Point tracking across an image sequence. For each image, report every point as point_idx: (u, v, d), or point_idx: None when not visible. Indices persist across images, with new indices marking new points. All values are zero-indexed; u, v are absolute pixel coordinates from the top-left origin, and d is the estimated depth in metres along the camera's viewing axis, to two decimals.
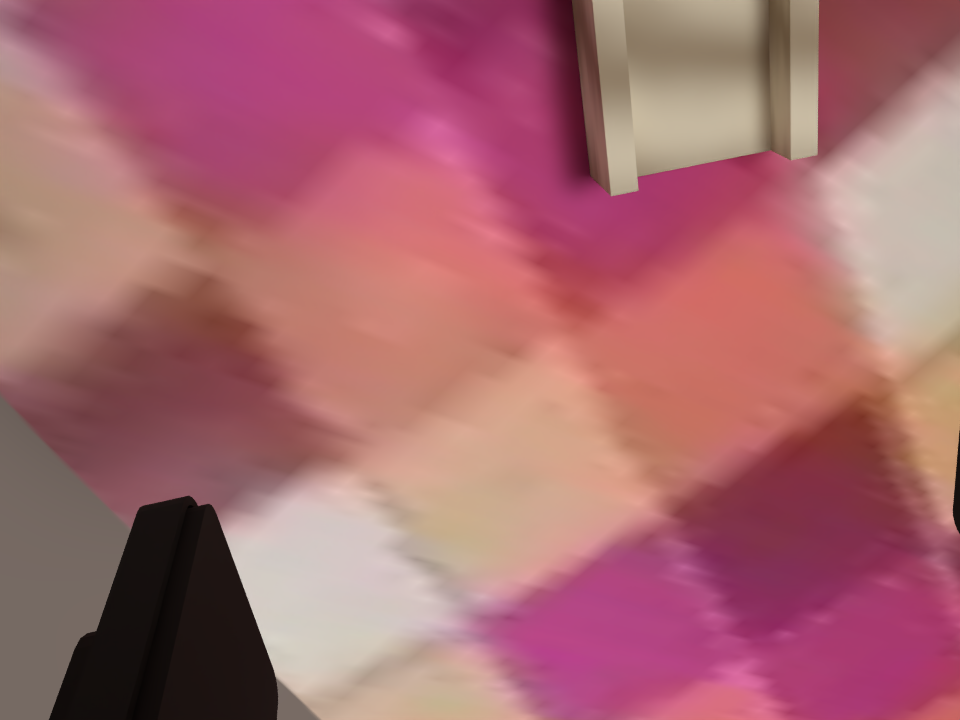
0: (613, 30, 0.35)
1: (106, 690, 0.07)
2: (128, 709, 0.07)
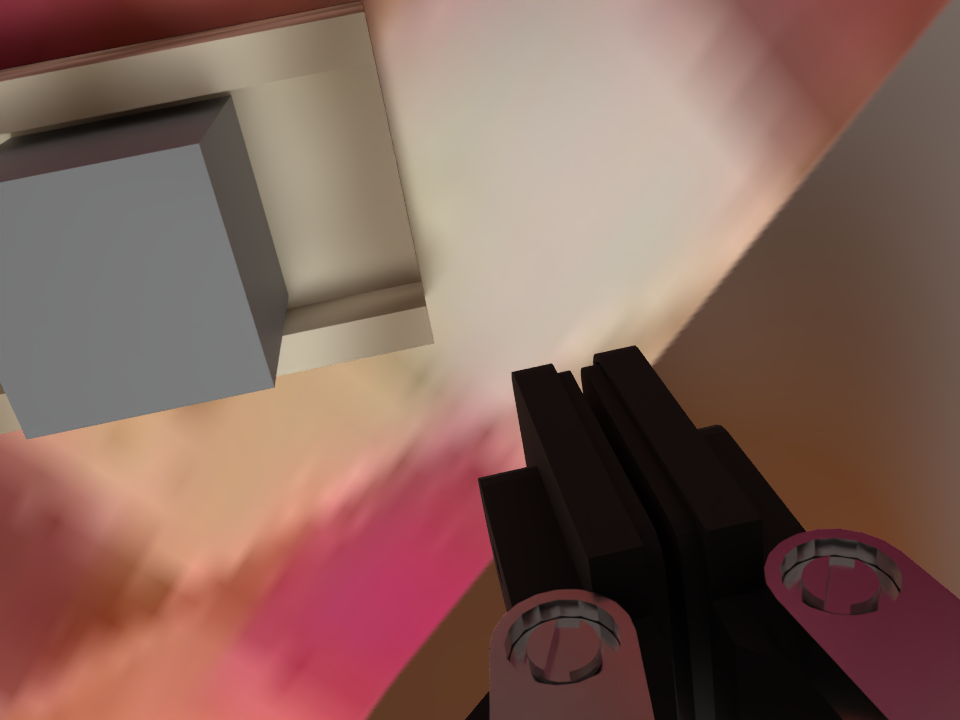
0: None
1: (589, 488, 0.09)
2: (620, 498, 0.08)
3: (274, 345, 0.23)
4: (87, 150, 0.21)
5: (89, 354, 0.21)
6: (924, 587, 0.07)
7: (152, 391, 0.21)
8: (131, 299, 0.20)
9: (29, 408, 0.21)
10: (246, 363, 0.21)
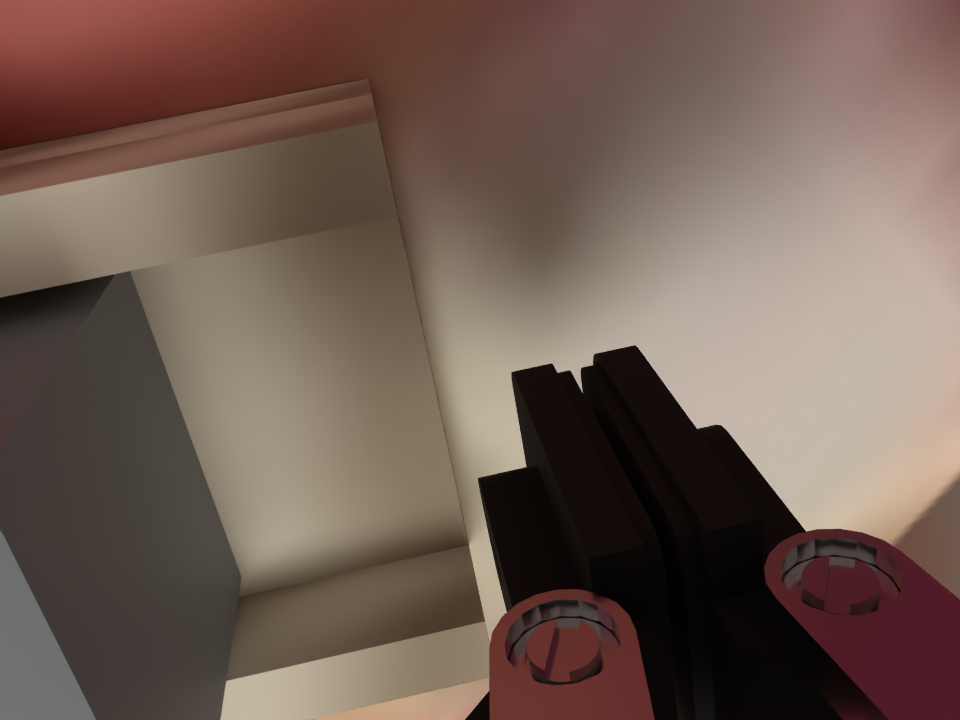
0: None
1: (589, 488, 0.09)
2: (620, 499, 0.08)
3: None
4: None
5: None
6: (924, 587, 0.07)
7: None
8: None
9: None
10: None
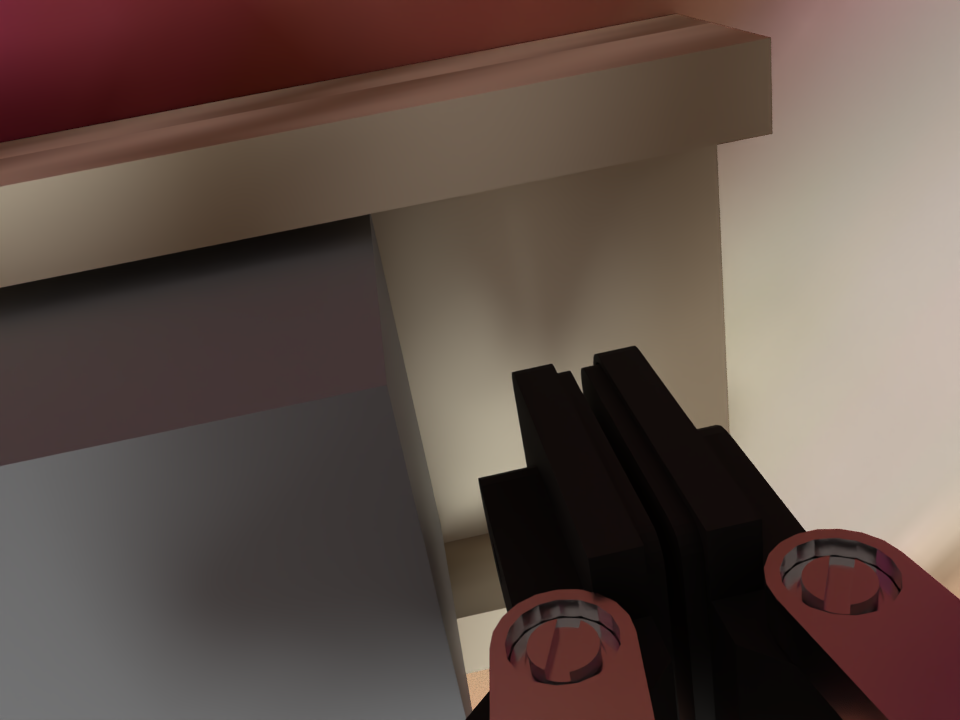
0: None
1: (589, 488, 0.09)
2: (620, 499, 0.08)
3: (469, 699, 0.12)
4: (113, 363, 0.09)
5: None
6: (924, 587, 0.07)
7: None
8: (209, 695, 0.09)
9: None
10: None
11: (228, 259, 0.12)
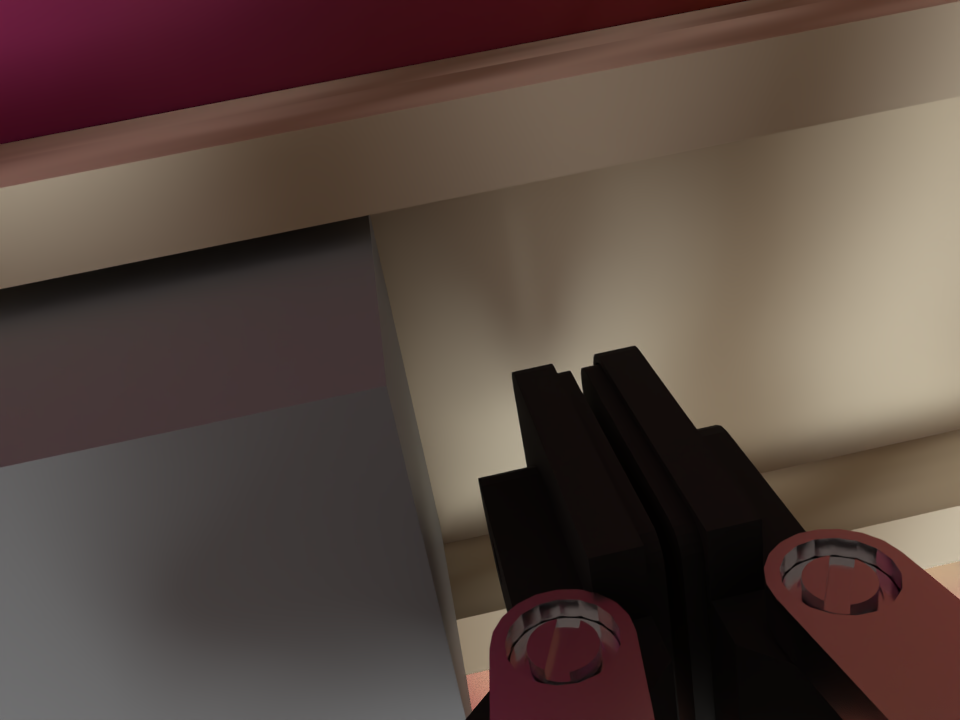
0: None
1: (589, 488, 0.09)
2: (620, 499, 0.08)
3: (469, 700, 0.12)
4: (113, 364, 0.09)
5: None
6: (924, 587, 0.07)
7: None
8: (209, 696, 0.09)
9: None
10: None
11: (227, 260, 0.12)
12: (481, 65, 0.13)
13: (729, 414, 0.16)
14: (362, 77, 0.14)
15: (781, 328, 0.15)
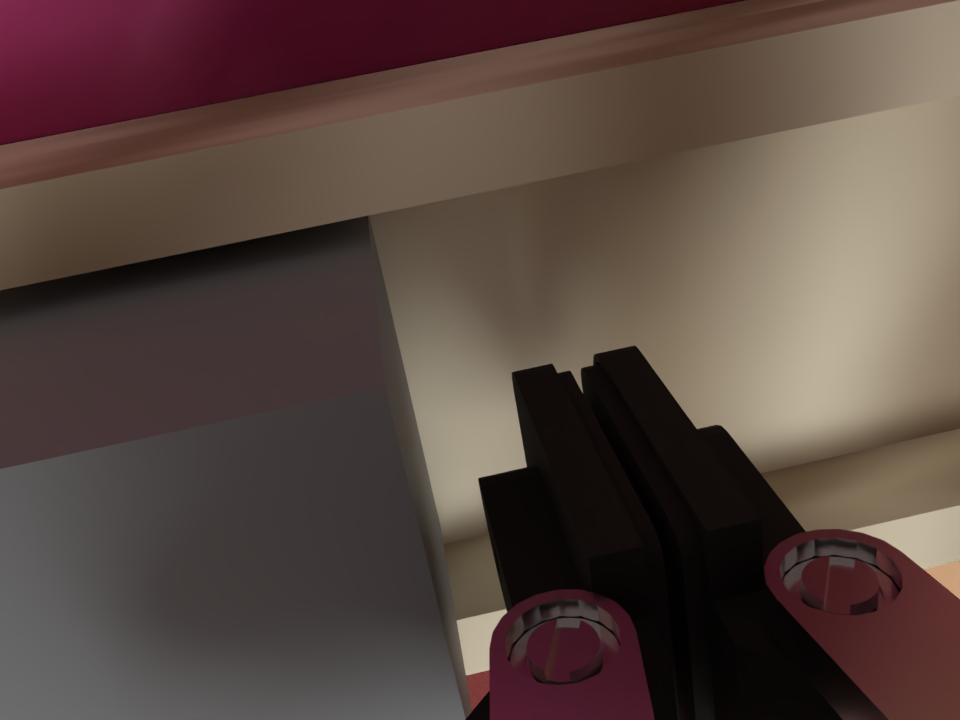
0: (216, 208, 0.11)
1: (589, 488, 0.09)
2: (620, 498, 0.08)
3: (469, 701, 0.12)
4: (111, 366, 0.09)
5: None
6: (924, 587, 0.07)
7: None
8: (209, 698, 0.09)
9: None
10: None
11: (226, 261, 0.12)
12: (799, 3, 0.13)
13: None
14: (662, 19, 0.14)
15: None
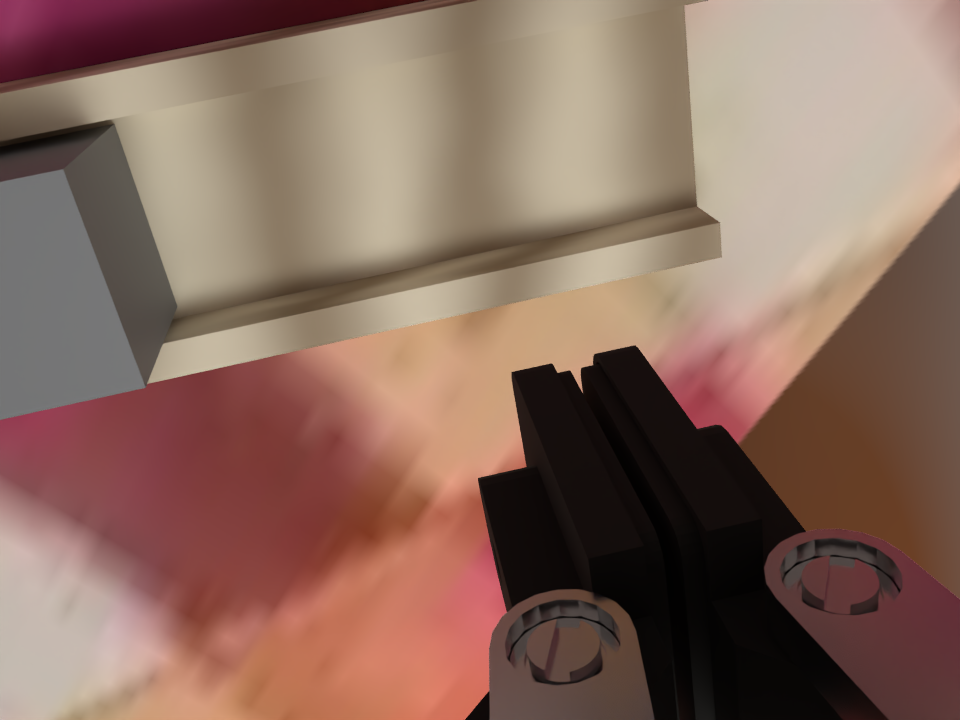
0: (30, 116, 0.25)
1: (589, 488, 0.09)
2: (620, 498, 0.08)
3: (150, 350, 0.25)
4: None
5: None
6: (924, 587, 0.07)
7: (32, 392, 0.24)
8: (8, 308, 0.23)
9: None
10: (118, 365, 0.24)
11: (35, 146, 0.26)
12: (330, 22, 0.27)
13: (478, 212, 0.30)
14: (275, 30, 0.28)
15: (500, 162, 0.29)
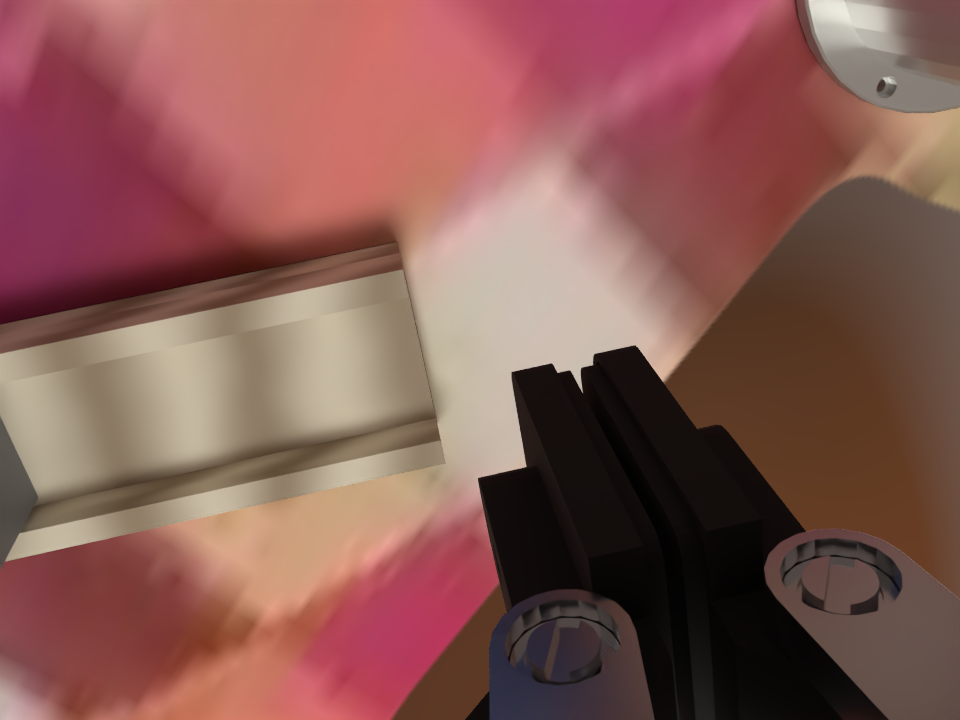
0: None
1: (589, 488, 0.09)
2: (620, 498, 0.08)
3: (0, 552, 0.35)
4: None
5: None
6: (924, 587, 0.07)
7: None
8: None
9: None
10: None
11: None
12: (138, 306, 0.37)
13: (264, 427, 0.40)
14: (103, 305, 0.38)
15: (277, 393, 0.39)
